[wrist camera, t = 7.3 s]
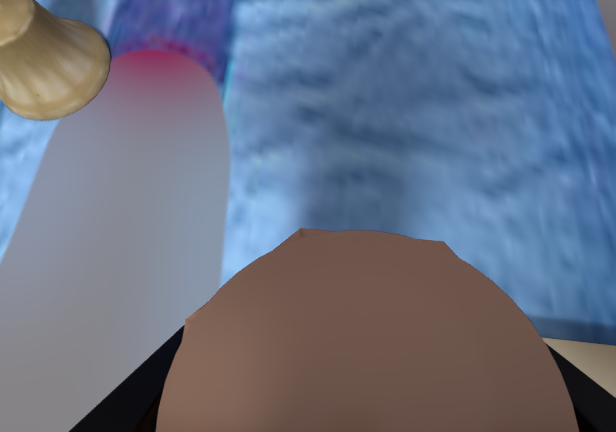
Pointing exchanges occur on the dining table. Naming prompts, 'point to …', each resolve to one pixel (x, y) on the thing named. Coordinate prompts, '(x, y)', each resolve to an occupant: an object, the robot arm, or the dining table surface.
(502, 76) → the dining table surface
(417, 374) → the salmon domed prism
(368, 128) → the dining table surface
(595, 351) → the birch board
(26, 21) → the hand bell
